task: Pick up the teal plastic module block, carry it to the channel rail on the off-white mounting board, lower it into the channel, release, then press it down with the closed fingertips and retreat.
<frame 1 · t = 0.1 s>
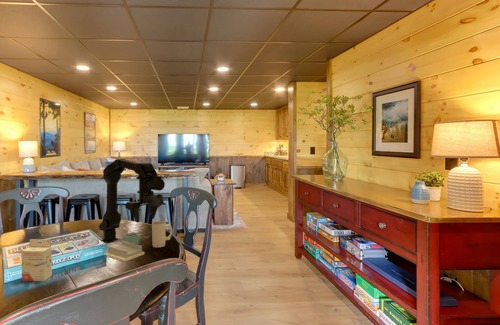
hand: (145, 220, 149), 15 cm above the table, tool pointing down, fingers open, 9 cm apart
module: (131, 244, 158), on the table
mount board: (124, 254, 143), on the table
ink cartridge box: (37, 279, 117), on the table
mug: (162, 245, 157), on the table
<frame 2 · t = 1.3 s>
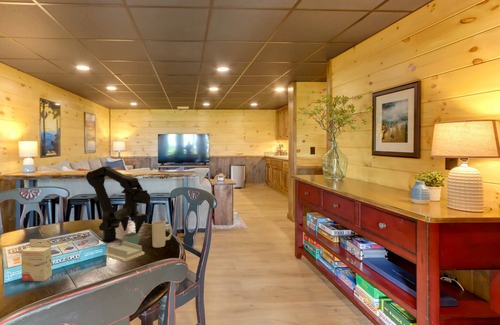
hand: (130, 232, 158), 6 cm above the table, tool pointing down, fingers open, 9 cm apart
nothing on the table moved.
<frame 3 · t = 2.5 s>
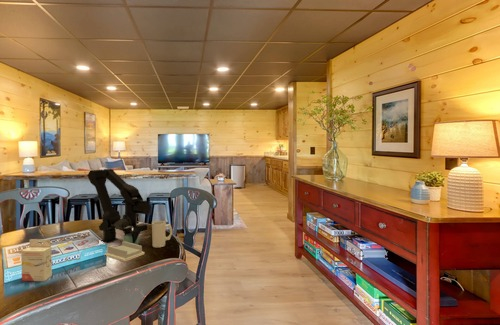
hand: (131, 242, 158), 1 cm above the table, tool pointing down, fingers closed on module, 4 cm apart
module: (131, 244, 158), on the table, touching gripper
everything else where it was.
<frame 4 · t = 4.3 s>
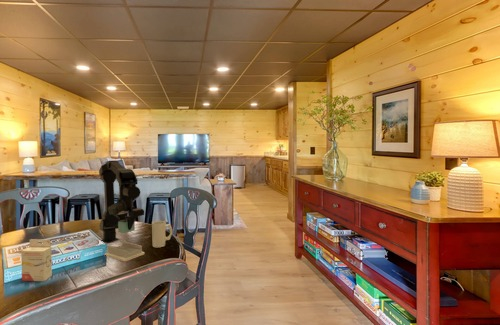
hand: (126, 229, 145), 11 cm above the table, tool pointing down, fingers closed on module, 4 cm apart
module: (126, 231, 145), point 10 cm above the table, touching gripper
everything else where it was.
when the fingers open (5 cm above the table, at t = 6.0 s): module drops 1 cm, resting on mount board.
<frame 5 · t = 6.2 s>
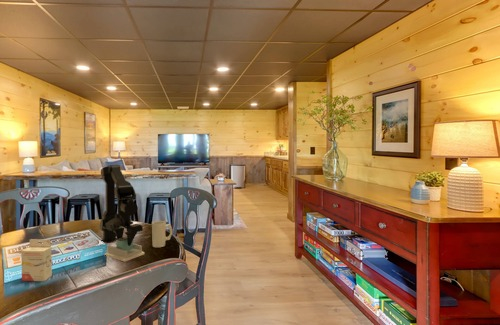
hand: (124, 244, 142), 5 cm above the table, tool pointing down, fingers open, 6 cm apart
module: (124, 249, 143), point 2 cm above the table, touching mount board
everything else where it was.
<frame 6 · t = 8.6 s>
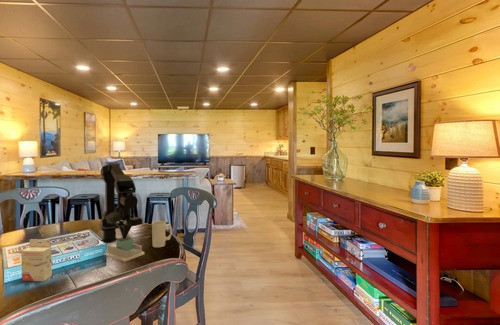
hand: (124, 237, 142), 8 cm above the table, tool pointing down, fingers closed, pressing on module
module: (124, 249, 143), point 2 cm above the table, touching gripper, mount board
everything else where it was.
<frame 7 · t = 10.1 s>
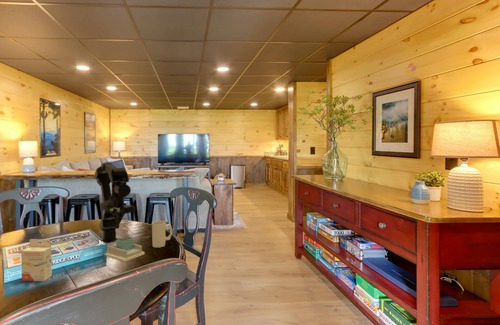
hand: (118, 224, 152), 12 cm above the table, tool pointing down, fingers closed
module: (124, 249, 143), point 2 cm above the table, touching mount board
everything else where it was.
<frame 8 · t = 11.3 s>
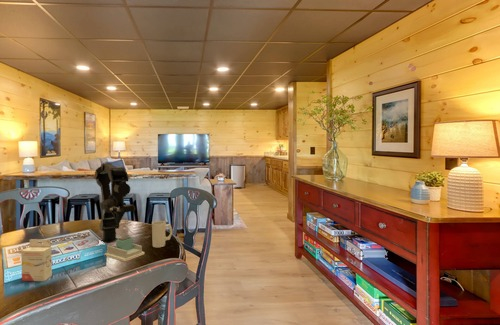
hand: (117, 223, 152), 12 cm above the table, tool pointing down, fingers closed
nothing on the table moved.
at the end: module inside the target area on the mount board (0.1 cm from its centre), point 2.5 cm above the mount board's base; module tilted 0°; the gripper is holding nothing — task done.
